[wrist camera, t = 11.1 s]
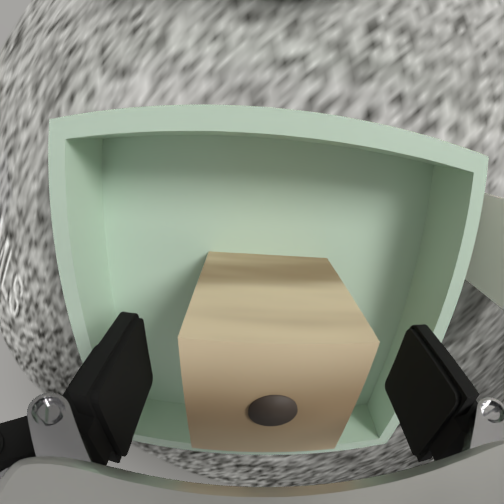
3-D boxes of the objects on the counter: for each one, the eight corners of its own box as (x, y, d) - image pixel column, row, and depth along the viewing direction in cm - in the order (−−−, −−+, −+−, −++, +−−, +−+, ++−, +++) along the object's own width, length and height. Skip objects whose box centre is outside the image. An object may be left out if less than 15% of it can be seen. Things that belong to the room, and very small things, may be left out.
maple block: (208, 251, 12) (176, 339, 7) (327, 257, 12) (381, 344, 7) (209, 347, 14) (191, 449, 8) (309, 351, 14) (334, 450, 8)
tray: (94, 122, 11) (49, 119, 8) (441, 150, 11) (488, 156, 8) (128, 395, 16) (112, 435, 13) (370, 404, 17) (386, 443, 13)
